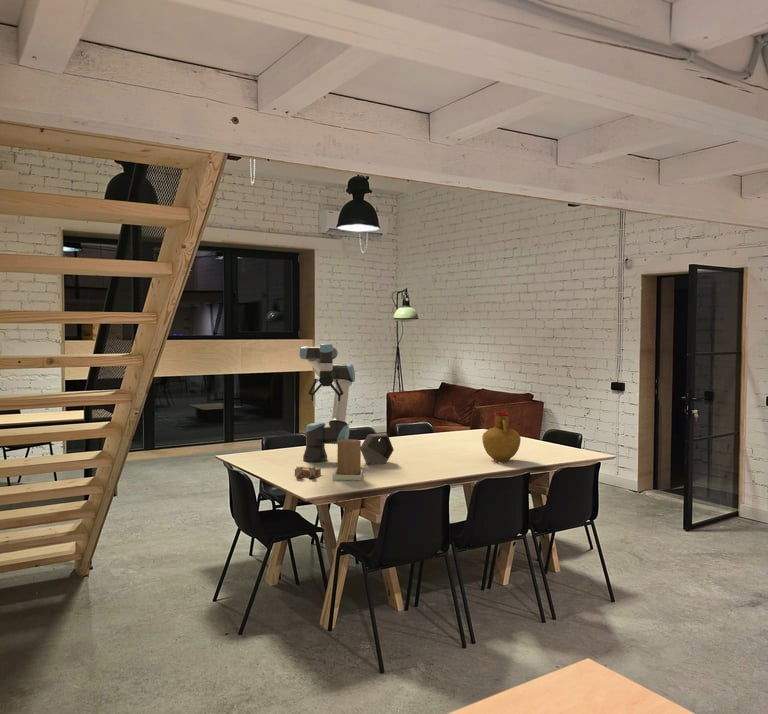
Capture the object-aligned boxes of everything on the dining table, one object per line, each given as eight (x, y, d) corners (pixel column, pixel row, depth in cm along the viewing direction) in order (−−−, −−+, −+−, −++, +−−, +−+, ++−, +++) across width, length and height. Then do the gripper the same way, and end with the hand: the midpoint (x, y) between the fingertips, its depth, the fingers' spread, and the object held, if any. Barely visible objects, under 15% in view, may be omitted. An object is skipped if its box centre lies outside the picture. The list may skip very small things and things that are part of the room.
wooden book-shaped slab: (302, 473, 378) (302, 466, 378) (320, 475, 373) (320, 468, 373) (294, 476, 371) (294, 469, 370) (313, 478, 366) (313, 471, 366)
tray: (335, 474, 374) (335, 469, 374) (362, 474, 374) (362, 469, 373) (332, 480, 359) (332, 474, 359) (360, 480, 358) (360, 475, 358)
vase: (524, 464, 408) (525, 415, 407) (486, 464, 407) (487, 415, 405) (514, 457, 432) (515, 411, 431) (478, 457, 430) (479, 411, 429)
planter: (359, 457, 399) (377, 428, 403) (355, 455, 406) (372, 426, 410) (381, 471, 405) (398, 442, 409) (376, 469, 412) (393, 440, 416)
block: (345, 473, 373) (345, 438, 372) (361, 475, 369) (361, 439, 368) (336, 477, 364) (336, 441, 363) (352, 479, 360) (352, 442, 359)
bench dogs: (296, 477, 366) (296, 466, 366) (315, 477, 366) (315, 466, 365) (295, 478, 362) (295, 467, 362) (314, 479, 362) (315, 468, 362)
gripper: (303, 370, 382) (303, 407, 383) (347, 371, 381) (346, 407, 382) (305, 369, 390) (305, 405, 391) (348, 370, 389) (347, 406, 390)
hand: (326, 406), depth 386 cm, fingers open, 13 cm apart
